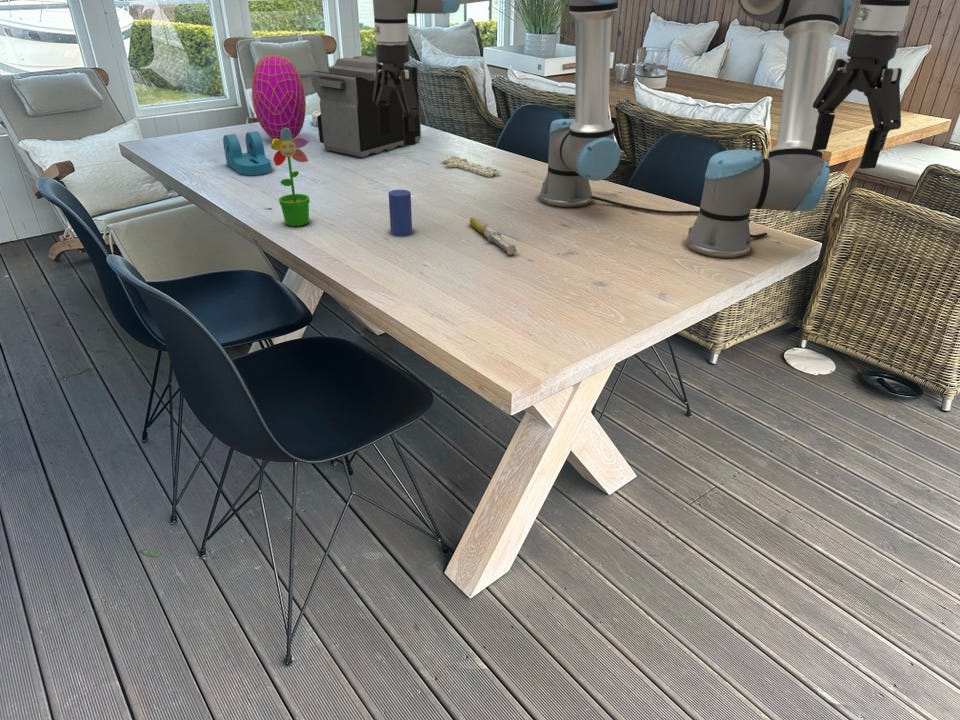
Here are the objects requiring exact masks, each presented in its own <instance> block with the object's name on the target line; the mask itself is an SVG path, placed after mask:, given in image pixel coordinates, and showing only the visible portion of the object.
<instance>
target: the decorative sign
mask: <svg viewBox="0 0 960 720" xmlns="http://www.w3.org/2000/svg"><path fill="white" fill-rule="evenodd" d="M442 161H443V164H445V165H446V168H459V169H463V170H465V171H469V172H472V173H474V174H478V175H481V176H485V177H487V178H490V177H491V178H492V177H493V176H496V177H497V176H498V175H499V171H498V170H497V168H495V167H494V168H492V166H482V164H480V163H475V162H471V163H470V162H468V159H467V158H460V156H458V155H450V157H447V158H443V160H442Z"/></svg>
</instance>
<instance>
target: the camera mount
mask: <svg viewBox="0 0 960 720" xmlns="http://www.w3.org/2000/svg"><path fill="white" fill-rule="evenodd" d="M222 140H223V141H222V143H223V149H224V150H223V151H224V156H225V161H226V165H227V166H228V167H230V168H231V169H232V170H234V171H236V172H237V173H238V174H239V175H244V176H260V175H265V174H268V173H271V172H272V164H271V159H270V158H268V157H267V156H266V153H265V145H264V141H263V139H262V136H261V134H260V132H258V131H247V132H246V133H245V146H246V152H243V151H242V150H243V149H242V146H241V142H240V140H239V138H238V135H236V134H235V133H231V134H224V135H223V138H222Z"/></svg>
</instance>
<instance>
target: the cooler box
mask: <svg viewBox="0 0 960 720" xmlns="http://www.w3.org/2000/svg"><path fill="white" fill-rule="evenodd" d="M377 63H379V62H378V61H377V60H376V56H367V55H356V56H353V57H350V58H349V57H343V58H342V57H341V58H337V59H336V60H335V63H334V64H333V65H330V66H329V67H328V72H327V71H320V70H314V71H313V70H312V71H310V79H311V87H313V90H314V91H315V93H316V94H317V96H318V98H319V110H320V111H321V115H319V116H318V117H317V120H318V126H317V128H318V138H319V143H320V144H323V146H324V149H325V150H327V151H330V152H335V153H340V154H344V155H348V156H353V157H357V158H362V159H363V158H366V157H367V158H368V157H369V155H371V154H375V155H377V154H381V153H382V152H383V151H391V150H395V149H396V148H397V147H405V146H404V137H403V117H402V115H403V113H404V112H403V109H402V107H401V104H400V101H399V98H398V95H397V93H396V91H394V90H393V88H392V90H391V93H390V96H389V99H388V102H389V105H385V106H389V119H390V133H389V134H381V135H380V134H379V123H378V106H377V105H376V102H373V91H374V84H375V78H376V64H377ZM404 69H405V70H407V69H411V71H412V81H413V85H414V89H415V93H416V98H417V102H418V106H419V110H420V111H421V97H420V92H419V91H420V89H419V68H418V67H417V66H408V65H404ZM406 81H407V80H406ZM377 96H378V95H377ZM421 137H422V128H421V113H420V114H419V115H416V116H415V142H416V143H418V142H419V141H421Z"/></svg>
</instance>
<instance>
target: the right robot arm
mask: <svg viewBox="0 0 960 720" xmlns="http://www.w3.org/2000/svg"><path fill="white" fill-rule="evenodd" d="M911 1H912V0H860V2H859V6H858V9H857V14H856V18H855V20H854V24H853V25H854V26H853V29H854V30H855V31H856V32H853V33H852V35H850V40H849V43H848V47H847V51H846V55H847V56H848V58H837V59H836V60H835V62H834V65H833V68H832V71H831V73H830V75H829V76H828V78H827V80H826V75H827V73H826V72H827V66H828V65H827V64H828V59H829V58H828V57H829V51H830V41H831V38H833V37H834V36H835V35H836V34H837V33H838V32H839V30H840V27H841V26H843V25H844V24H845V23H846V22H847V20H848V18H849V16H850V13H851V6H852V5H853V0H737V3H738V6H739V8H740V10H741V11H742V12H743V13H744V14H745V15H746V16H747V17H748V18H750V19H752V20H754V21H757V22H759V23H763V24H767V25H768V24H769V25H783V33H782V35H783V36H784V38H785V39H787V40H788V47H787V56H786V64H785V65H786V66H785V71H784V72H785V73H784V80H783V89H782V96H781V97H782V98H781V106H780V113H779V114H780V115H779V119H778V127H777V128H778V130H777V137H776V144H775V145H774V146H773V147H772V148H771V149H770V150H769V151H768V155H767V158H764V156H763V154H762V152H761V151H758V150H755V149H745V148H744V149H743V148H740V149H729V150H723V151H720V152H717V153H715V154H713V155H712V156H711V157H710V158H709V160H708V164H707V167H706V171H705V174H704V185H703V190H702V195H701V201H700V206H699V210H698V211H699V214H697V217H696V219H695V221H694V223H693V225H692V226H691V227H688V234H687V236H686V240H685V241H686V242H685V244H686V247H687V248H688V249H690V250H691V251H693V252H695V253H697V254H701V255H703V256H707V257H711V258H718V259H719V258H720V259H734V258H735V259H736V258H740V257H744V256H747V255H748V254H749V253H750V252H751V247H752V240H751V239H759V238H763V237H766V236H768V232H762V233H759V234H751V231H750V222H748V220H750V215H751V211H752V210H766V211H784V212H791V213H796V212H810V211H812V210H814V209H815V208H816V207H817V206H818V205H819V203H820V201H821V200H822V198H823V196H824V194H825V191H826V189H827V186H828V182H829V178H830V174H831V170H830V167H831V166H830V163H829V162H828V161H826V160H823V151H826V150H827V147H828V145H829V140H830V137H831V132H832V129H833V125H834V121H835V117H836V114H835V113H836V111H835V110H836V109H837V108H838V107H839V106H840V105H841V104H842V102H843V101H844V100H846V98H847V97H848V96H849V95H850V94H851V93H852V92H853V91H857V92H860V93H863V95H864V96H865V97H866V99H867V103H868V108H869V112H870V116H871V119H872V124H873V128H871V129H870V130H869V133H868V136H867V139H866V143H865V145H864V148H863V149H864V150H863V153H862V156H861V160H860V163H859V166H858V167H859V169H862V170H865V169H876V167H877V164H878V160H879V158H880V157H879V156H880V154H881V151H882V150H883V149H884V147H885V144H886V141H887V139H888V138H887V137H888V134H889V132H890V131H894V130H899V129H901V127H902V116H901V115H902V113H901V112H902V111H901V90H900V89H901V87H900V81H901V78H902V74H903V73H902V72H903V69H902V68H901V67H892V68H891V67H890V68H889V62H890V61H891V60H893V59H894V58H895V56H896V53H897V49H898V47H899V43H900V40H901V37H900V36H899V35H898V33H901V32H902V31H903V30H904V28H905V27H904V26H905V23H906V20H907V17H908V13H909V8H910V4H911ZM825 80H826V81H825Z"/></svg>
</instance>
